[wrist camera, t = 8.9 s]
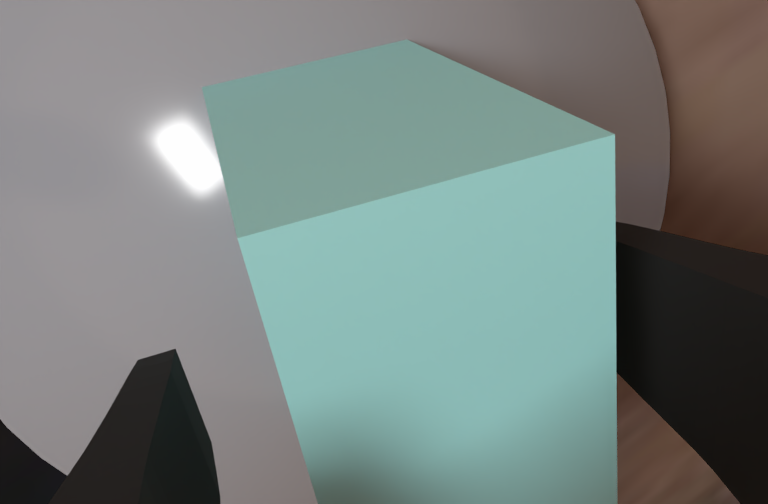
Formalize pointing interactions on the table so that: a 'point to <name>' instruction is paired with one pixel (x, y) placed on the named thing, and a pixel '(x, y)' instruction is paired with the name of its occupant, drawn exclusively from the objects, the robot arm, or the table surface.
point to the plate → (208, 193)
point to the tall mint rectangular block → (429, 277)
